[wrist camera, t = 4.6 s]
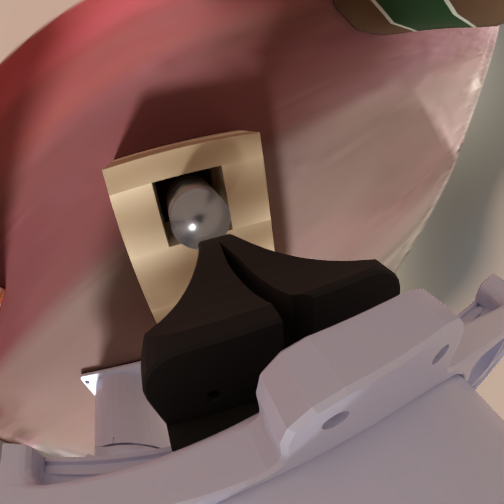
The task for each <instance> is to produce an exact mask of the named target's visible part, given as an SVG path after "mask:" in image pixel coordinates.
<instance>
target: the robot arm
mask: <svg viewBox="0 0 504 504" xmlns="http://www.w3.org/2000/svg"><path fill="white" fill-rule="evenodd" d="M198 247H199V252H198V258H197V262H196V266H195V269H194V272H193V275H192V278H191V280H190V282H189V284H188V286H187V288H186V290H185V292H184V294H183V295H182V297H181V298H180V300H179V301H178V303H177V304H176V305H175V306H174V308H173V309H172V310H171V311H170V312H169V313H168V314H167V315H166V316H165V317H164V318H163V319H162V320H161V321H160V322H159V323H158V324H156V325H155V326H154V327H153V328H152V329H151V330H149V331H148V332H147V333H145V335H144V341H143V347H142V355H141V361H138V362H134V363H130V364H125V365H121V366H117V367H112V368H108V369H103V370H99V371H94V372H89V373H84V374H81V380H82V381H83V382H84V384H85V385H86V386H87V387H88V388H89V389H90V391H91V392H92V393H93V394H94V395H95V456H93V455H86V457H63V458H58V457H56V458H55V457H44V456H43V455H42V454H41V453H39V452H38V451H37V450H35V449H34V448H32V447H30V446H27V445H22V444H7V443H5V444H3V446H2V455H1V464H0V465H1V466H0V504H504V421H503V419H502V418H501V417H500V416H499V415H498V414H497V413H496V412H495V411H494V410H493V409H492V408H491V406H490V405H489V404H488V403H487V402H486V401H485V400H484V399H483V398H482V397H481V396H480V395H479V394H478V393H477V392H476V391H475V389H476V388H477V387H478V386H479V385H480V384H481V383H482V381H483V380H484V379H485V378H486V377H487V376H488V374H489V373H490V372H491V371H492V370H493V368H494V367H495V366H496V365H497V363H498V362H499V361H500V360H501V358H502V357H503V356H504V280H503V279H501V278H500V277H498V276H497V275H496V274H492V275H491V276H490V277H488V278H487V279H486V280H485V281H484V282H483V283H482V284H481V285H480V287H479V289H478V292H477V294H476V298H475V301H474V302H473V303H472V304H470V305H469V306H468V307H467V308H466V309H464V310H463V311H462V312H460V313H459V314H458V315H456V314H455V313H453V312H452V311H451V310H450V309H448V308H447V307H446V306H445V305H444V304H442V303H441V302H440V301H438V300H437V299H436V298H435V297H433V296H432V295H431V294H429V293H428V292H427V291H425V290H424V289H423V288H420V289H415V290H411V291H407V292H404V293H402V294H400V284H399V279H398V278H397V276H396V275H395V273H393V272H392V271H391V270H389V269H388V268H387V267H385V266H384V265H383V264H381V263H380V262H379V261H377V260H376V259H373V260H358V261H326V260H315V259H306V258H300V257H295V256H290V255H286V254H282V253H278V252H275V251H272V250H269V249H266V248H263V247H260V246H258V245H255V244H253V243H250V242H248V241H246V240H243V239H241V238H239V237H237V236H234V235H232V234H226V235H222V236H219V237H215V238H211V239H208V240H204V241H200V242H199V244H198Z"/></svg>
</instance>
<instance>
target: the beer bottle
mask: <svg viewBox="0 0 504 504" xmlns="http://www.w3.org/2000/svg"><path fill="white" fill-rule="evenodd" d="M334 4H335V8H336V9H337V10H338V11H339V12H340V13H341V14H342V15H343V16H344V17H345V18H346V19H347V20H348V21H349V22H350V23H351V25H352V26H353V27H354V28H355V29H356V30H359V31H364V32H369V33H373V34H378V35H391V34H399V33H406V32H413V31H421V30H431V29H443V28H464V27H490V26H498V25H501V24H503V23H504V0H334Z"/></svg>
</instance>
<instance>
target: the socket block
mask: <svg viewBox="0 0 504 504" xmlns="http://www.w3.org/2000/svg"><path fill="white" fill-rule="evenodd" d="M208 168H209V169H210V174H211V180H212V185H213V189H214V190H215V191H216V192H217V194H218V195H219V196H220V197H221V198H222V199H223V200H224V201H225V203H226V204H227V206H228V208H229V210H230V215H231V222H230V226H229V229H228V232H227V233H226V234H232V235H234V236H237V237H239V238H241V239H243V240H246V241H248V242H250V243H253V244H255V245H258V246H260V247H263V248H266V249H269V250H272V251H275V250H274V242H273V233H272V224H271V216H270V207H269V199H268V191H267V183H266V175H265V167H264V159H263V152H262V144H261V137H260V132H253V131H242V130H235V131H230V132H224V133H219V134H214V135H209V136H204V137H199V138H194V139H190V140H185V141H181V142H177V143H173V144H169V145H165V146H161V147H157V148H153V149H150V150H146V151H142V152H139V153H135V154H132V155H129V156H125V157H122V158H119V159H116V160H113V161H112V162H111V163H110V164H109V165H108V166H106V167H105V168H104V169H103V170H102V171H103V175H104V179H105V182H106V186H107V190H108V193H109V197H110V200H111V203H112V207H113V210H114V213H115V216H116V220H117V223H118V226H119V229H120V232H121V235H122V238H123V241H124V243H125V246H126V249H127V252H128V255H129V257H130V260H131V263H132V265H133V268H134V271H135V273H136V276H137V278H138V281H139V283H140V286H141V288H142V291H143V293H144V296H145V298H146V300H147V303H148V305H149V307H150V310H151V312H152V314H153V317H154V319H155V321H156V323H157V324H158V323H159V322H160V321H161V320H162V319H163V318H164V317H165V316H166V315H167V314H168V313H169V312H170V311H171V310H172V309H173V308H174V306H175V305H176V304H177V303H178V301H179V300H180V298H181V297H182V295H183V294H184V292H185V290H186V288H187V286H188V284H189V282H190V280H191V278H192V275H193V272H194V269H195V266H196V262H197V258H198V252H199V249H192V248H188V247H186V246H184V245H182V244H181V243H180V242H179V241H178V240H177V239H176V238H175V236H174V234H173V232H172V229H171V224H170V221H168V222H165V220H164V216H163V212H162V208H161V204H160V201H159V197H158V193H157V189H156V185H155V182H157V181H160V180H164V179H168V178H172V177H175V176H179V175H183V174H187V173H191V172H195V171H199V170H204V169H208Z"/></svg>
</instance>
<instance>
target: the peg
mask: <svg viewBox="0 0 504 504" xmlns="http://www.w3.org/2000/svg"><path fill="white" fill-rule="evenodd" d="M166 202H167V208H168V213H169V219H170V224H171V229H172V232H173V234H174V236H175V238H176V239H177V240H178V241H179V242H180V243H181V244H182V245H184V246H186V247H188V248H192V249H199V247H198V244H199V242H200V241H204V240H208V239H211V238H215V237H219V236H222V235H226V233H227V232H228V229H229V226H230V222H231V215H230V210H229V208H228V206H227V204H226V203H225V201H224V200H223V199H222V198H221V197H220V196H219V195H218V194H217V192H216V191H215V190H214V189H213V188H212V187H211V186H210V185H209V184H208V183H207V182H206V181H205V180H204V179H203V178H201V177H198V176H194V175H187V176H183V177H181V178H179V179H177V180H176V181H174V182H173V183H172V184H171V186H170V187H169V189H168V192H167V196H166Z"/></svg>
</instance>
